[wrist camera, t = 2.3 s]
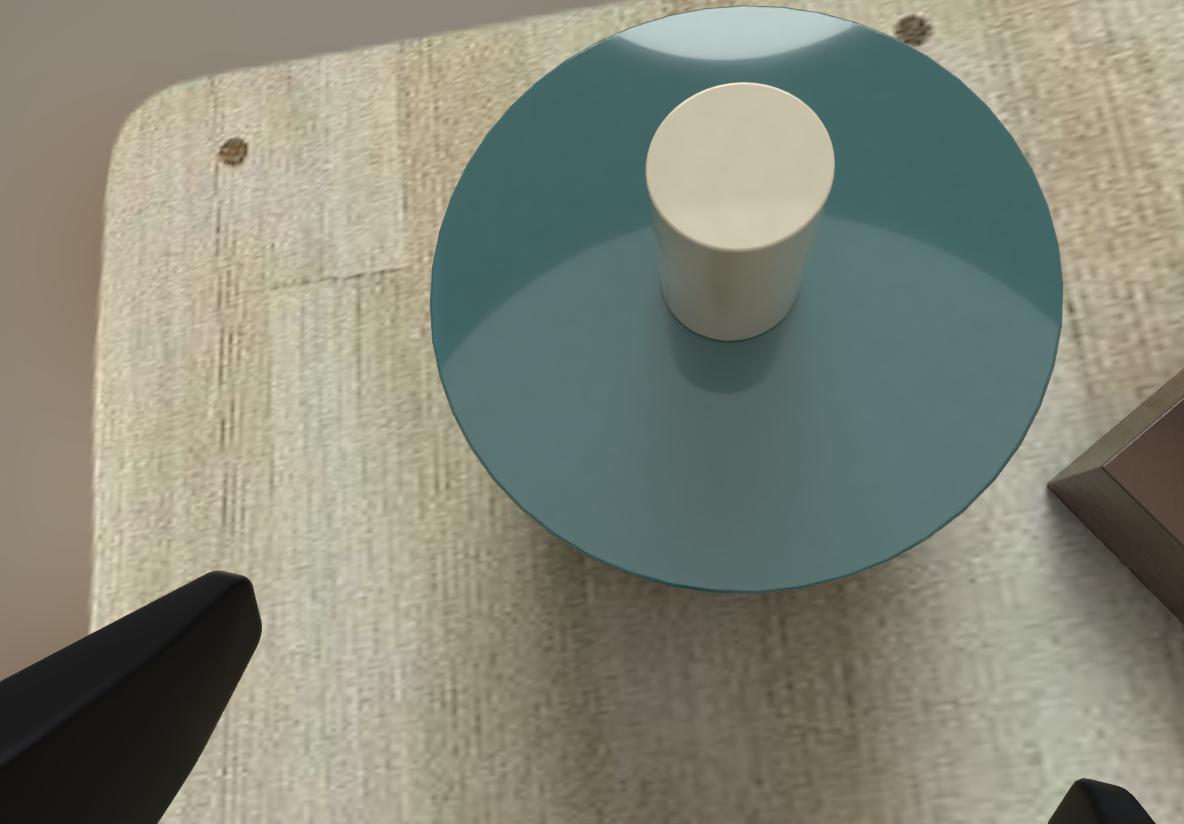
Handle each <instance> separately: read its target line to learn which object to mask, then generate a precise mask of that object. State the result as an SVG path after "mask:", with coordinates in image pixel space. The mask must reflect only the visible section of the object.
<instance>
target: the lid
mask: <svg viewBox="0 0 1184 824" xmlns="http://www.w3.org/2000/svg"><path fill="white" fill-rule="evenodd" d="M1062 306H1063V279H1062V270H1061V262H1060V253H1059V244H1058V241H1057V237H1056V233H1055V229H1054V226H1053V222H1052V218H1051V215H1050V211H1049V207H1048V204H1047V202H1046V200H1045V197H1044V195H1043V193H1042V190H1041V188H1040V186H1039V183H1038V181H1037V179H1036V176H1035V174H1034V172H1033V169H1032V168H1031V166H1030V165H1029V163H1028V161H1027V160H1026V158H1025V156H1024V155H1023V153H1022V151H1021V150H1020V148H1019V146H1018V145H1017V143H1016V142H1015V140H1014V138H1013V137H1012V135H1011V134H1010V133H1009V132H1008V130H1007V129H1006V128H1005V127H1004V125H1003V124H1002V123H1001V122H1000V120H999V119H998V118H997V117H996V116H995V114H994V113H993V112H992V111H991V109H990V108H989V107H988V106H987V105H986V104H985V103H984V102H983V101H982V100H981V99H980V98H979V97H978V96H977V95H976V94H975V93H974V92H972V91H971V90H970V89H969V88H968V87H967V86H966V85H965V84H964V83H963V82H962V81H961V80H960V79H959V78H957V77H956V76H954V75H953V74H952V73H950V72H949V71H948V70H946V69H945V68H943V67H942V66H941V65H939V64H938V63H936V62H935V61H934V60H932V59H931V58H930V57H928V56H927V55H925V54H923V53H921V52H919V51H918V50H916V49H914V48H912V47H910V46H908V45H907V44H905V43H903V42H901V41H899V40H897V39H896V38H894V37H892V36H889V35H887V34H884V33H882V32H879V31H877V30H874V29H872V28H869V27H867V26H864V25H862V24H859V23H856V22H853V21H849V20H845V19H842V18H838V17H834V16H830V15H827V14H823V13H819V12H812V11H806V10H799V9H792V8H786V7H769V6H732V7H719V8H706V9H701V10H695V11H690V12H685V13H679V14H674V15H669V16H666V17H662V18H659V19H656V20H653V21H649V22H646V23H643V24H640V25H636V26H633V27H631V28H628V29H626V30H624V31H621V32H619V33H617V34H615V35H612V36H610V37H608V38H605V39H603V40H601V41H598V42H597V43H595V44H593V45H592V46H590V47H588V48H586V49H585V50H583V51H581V52H579V53H578V54H576V55H574V56H572V57H571V58H569V59H567V60H566V61H564V62H563V63H562V64H560V65H559V66H558V67H556V68H555V69H553V70H552V71H551V72H549V73H548V74H547V75H545V76H544V77H543V78H541V79H540V80H539V81H537V82H536V83H535V84H534V85H533V86H532V87H531V88H530V89H529V90H528V91H526V92H525V93H524V94H523V95H522V96H521V97H520V98H519V99H518V100H517V101H516V102H515V103H514V104H513V105H512V106H510V108H509V109H508V110H507V111H506V112H505V114H504V115H503V116H502V117H501V118H500V119H499V121H498V122H497V123H496V124H495V125H494V127H493V128H492V129H491V130H490V131H489V133H488V134H487V135H486V136H485V138H484V140H483V141H482V143H481V144H480V146H479V147H478V149H477V150H476V152H475V153H474V155H473V156H472V158H471V159H470V161H469V163H468V164H467V166H466V168H465V170H464V172H463V174H462V176H461V178H460V180H459V182H458V184H457V186H456V188H455V190H454V192H453V194H452V196H451V199H450V202H449V205H448V208H447V211H446V214H445V217H444V220H443V223H442V225H441V228H440V231H439V236H438V241H437V246H436V251H435V256H434V261H433V266H432V277H431V292H430V316H431V331H432V343H433V348H434V352H435V357H436V362H437V367H438V372H439V377H440V380H441V383H442V385H443V388H444V391H445V394H446V397H447V400H448V402H449V405H450V408H451V411H452V414H453V415H454V417H455V419H456V421H457V423H458V425H459V427H460V429H461V431H462V433H463V435H464V437H465V439H466V441H467V443H468V444H469V446H470V448H471V450H472V451H473V452H474V454H475V455H476V457H477V458H478V459H479V461H480V462H481V464H482V465H483V467H484V468H485V469H486V471H487V472H488V474H489V475H490V476H491V478H492V479H493V480H494V482H495V483H496V484H497V485H498V486H499V487H500V488H501V489H502V490H503V491H504V492H505V493H506V494H507V495H508V497H509V498H510V499H511V500H512V501H513V502H514V503H515V504H516V505H517V506H518V507H519V508H520V509H521V510H522V511H523V512H524V513H526V514H527V515H528V516H529V517H531V518H532V519H533V520H534V521H535V522H537V523H538V524H539V525H540V526H542V527H543V528H544V529H545V530H547V531H548V532H549V533H550V534H551V535H553V536H554V537H556V538H558V539H559V540H561V541H563V542H564V543H566V544H568V545H569V546H571V547H572V548H574V549H576V550H577V551H579V552H581V553H582V554H584V555H585V556H587V557H589V558H591V559H594V560H596V561H598V562H600V563H603V564H605V565H607V566H609V567H612V568H614V569H616V570H618V571H621V572H623V573H625V574H628V575H631V576H634V577H638V578H641V579H645V580H648V581H651V582H655V583H658V584H662V585H665V586H669V587H673V588H680V589H687V590H693V591H700V592H706V593H713V594H765V593H774V592H783V591H792V590H800V589H806V588H810V587H814V586H818V585H822V584H826V583H830V582H834V581H838V580H842V579H846V578H849V577H851V576H854V575H856V574H859V573H861V572H864V571H866V570H869V569H871V568H874V567H876V566H879V565H881V564H884V563H886V562H889V561H891V560H893V559H894V558H896V557H898V556H900V555H901V554H903V553H905V552H907V551H908V550H910V549H912V548H914V547H915V546H917V545H919V544H921V543H922V542H924V541H926V540H928V539H929V538H931V537H932V536H933V535H935V534H936V533H937V532H938V531H940V530H941V529H942V528H944V527H945V526H946V525H948V524H949V523H950V522H951V521H953V520H954V519H955V518H957V517H958V516H959V515H960V514H962V513H963V512H964V511H965V510H966V509H967V508H968V507H969V506H970V505H971V504H972V503H973V502H974V501H975V500H976V499H977V498H978V497H979V496H980V495H981V494H982V493H983V492H984V491H985V490H986V489H987V488H988V487H989V486H990V485H991V484H992V483H993V482H994V481H995V479H996V478H997V477H998V475H999V474H1000V473H1001V471H1002V470H1003V468H1004V467H1005V466H1006V464H1007V463H1008V462H1009V460H1010V459H1011V457H1012V456H1013V455H1014V453H1015V452H1016V450H1017V449H1018V448H1019V446H1020V445H1021V443H1022V441H1023V439H1024V437H1025V436H1026V434H1027V432H1028V430H1029V428H1030V426H1031V424H1032V422H1033V420H1034V418H1035V416H1036V414H1037V413H1038V411H1039V409H1040V407H1041V404H1042V401H1043V398H1044V395H1045V392H1046V389H1047V387H1048V384H1049V381H1050V378H1051V375H1052V372H1053V369H1054V366H1055V360H1056V355H1057V350H1058V344H1059V339H1060V333H1061V328H1062Z"/></svg>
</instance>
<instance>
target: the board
mask: <svg viewBox="0 0 1184 824" xmlns="http://www.w3.org/2000/svg"><path fill="white" fill-rule="evenodd" d="M1047 486H1048V487H1049V488H1050V489H1051V490H1052V491H1053V492H1054V493H1055V494H1056V495H1057V496H1058V497H1059V498H1060V499H1061V500H1062V501H1063V502H1064V503H1065V504H1066V505H1067V506H1068V507H1069V508H1070V509H1071V510H1072V511H1073V512H1074V513H1075V514H1076V515H1077V516H1078V517H1079V518H1080V519H1081V520H1082V521H1083V522H1084V523H1085V524H1086V525H1087V526H1088V527H1089V528H1090V529H1091V530H1092V531H1093V532H1094V533H1095V534H1096V535H1097V536H1098V537H1099V538H1100V539H1101V540H1102V541H1103V542H1104V543H1105V544H1106V545H1107V546H1108V547H1109V548H1110V549H1111V550H1112V551H1113V552H1114V553H1115V554H1116V555H1117V556H1118V557H1119V558H1120V559H1121V560H1122V561H1123V562H1124V563H1125V564H1126V565H1127V566H1128V567H1129V568H1130V569H1131V570H1132V571H1133V572H1134V573H1135V574H1136V575H1137V576H1138V577H1139V578H1140V579H1141V580H1142V581H1143V582H1144V583H1145V584H1146V585H1147V586H1148V587H1149V588H1150V590H1151V591H1152V592H1153V593H1154V594H1155V595H1156V596H1157V597H1158V598H1159V599H1160V600H1161V601H1162V602H1163V603H1164V604H1165V605H1166V606H1167V607H1168V608H1169V609H1170V610H1171V611H1172V612H1173V613H1174V614H1175V615H1176V616H1177V617H1178V618H1179V619H1180V620H1181V621H1182V622H1183V623H1184V369H1183V370H1181V371H1180V372H1179V373H1178V374H1177V375H1176V376H1174V377H1173V378H1172V379H1171V380H1170V381H1168V382H1167V383H1166V384H1165V385H1164V386H1163V387H1161V388H1160V389H1159V390H1158V391H1157V392H1155V393H1154V394H1153V395H1152V396H1151V397H1149V398H1148V399H1147V400H1146V401H1145V402H1144V403H1142V404H1141V405H1140V406H1139V407H1138V408H1136V409H1135V410H1134V411H1133V412H1132V413H1131V414H1129V415H1128V416H1127V417H1126V418H1125V419H1123V420H1122V421H1121V422H1120V423H1119V424H1117V425H1116V426H1115V427H1114V428H1113V429H1112V430H1110V431H1109V432H1108V433H1107V434H1106V435H1104V436H1103V437H1102V438H1101V439H1100V440H1099V441H1097V442H1096V443H1095V444H1094V445H1093V446H1091V447H1090V448H1089V449H1088V450H1087V451H1086V452H1084V453H1083V454H1082V455H1081V456H1080V457H1078V458H1077V459H1076V460H1075V461H1074V462H1072V463H1071V464H1070V465H1069V466H1068V467H1067V468H1065V469H1064V470H1063V471H1062V472H1061V473H1059V474H1058V475H1057V476H1056V477H1055V478H1054V479H1052V480H1051V481H1050V482H1049V483H1048V484H1047Z"/></svg>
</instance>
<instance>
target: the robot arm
mask: <svg viewBox="0 0 1184 824" xmlns="http://www.w3.org/2000/svg"><path fill="white" fill-rule="evenodd" d="M261 632H262V622H261V618H260V614H259V610H258V605H257V601H256V597H255V593H254V589H253V585H252V583H251V581H250V580H249V579H248V578H247V577H245V576H242V575H238V574H234V573H229V572H225V571H213V572H209V573H207V574H205V575H203V576H201V577H199V578H197V579H195V580H193V581H192V582H190V583H188V584H186V585H184V586H182V587H180V588H178V589H176V590H174V591H172V592H170V593H169V594H167V595H165V596H163V597H161V598H159V599H157V600H155V601H153V602H151V603H149V604H148V605H146V606H144V607H142V608H140V609H138V610H136V611H134V612H132V613H130V614H128V615H126V616H125V617H123V618H121V619H119V620H117V621H115V622H113V623H111V624H109V625H107V626H105V627H103V628H102V629H100V630H98V631H96V632H94V633H92V634H90V635H88V636H86V637H84V638H82V639H81V640H79V641H77V642H75V643H73V644H71V645H69V646H67V647H65V648H63V649H61V650H60V651H58V652H56V653H54V654H52V655H50V656H48V657H46V658H44V659H43V660H40V661H38V662H36V663H35V664H33V665H31V666H29V667H27V668H25V669H23V670H21V671H19V672H17V673H15V674H14V675H12V676H10V677H8V678H6V679H4V680H2V681H1V682H0V824H158V822H159V821H160V819H161V818H162V816H163V814H164V813H165V811H166V810H167V808H168V807H169V805H170V804H171V802H172V801H173V799H174V797H175V796H176V794H177V793H178V791H179V790H180V788H181V787H182V785H183V784H184V782H185V780H186V779H187V777H188V775H189V774H190V772H191V771H192V769H193V767H194V766H195V764H196V762H197V761H198V759H199V757H200V755H201V753H202V752H203V750H204V748H205V746H206V744H207V742H208V740H209V739H210V737H211V735H212V733H213V731H214V729H215V727H216V725H217V723H218V721H219V719H220V717H221V715H222V713H223V711H224V710H225V708H226V706H227V704H228V702H229V700H230V698H231V696H232V694H233V692H234V690H235V688H236V686H237V684H238V682H239V681H240V679H241V677H242V675H243V673H244V671H245V669H246V667H247V665H248V663H249V661H250V659H251V657H252V655H253V654H254V652H255V650H256V648H257V645H258V643H259V640H260V637H261ZM1048 824H1156V823H1155V822H1154V821H1153V820H1152V818H1151V817H1150V816H1149V815H1148V813H1147V812H1146V811H1145V810H1144V808H1143V807H1142V806H1141V805H1140V803H1139V802H1138V801H1137V800H1136V798H1135V797H1134V796H1133V795H1132V794H1131V793H1129V792H1128V791H1127V790H1125V789H1124V788H1122V787H1119V786H1116V785H1112V784H1108V783H1104V782H1099V781H1095V780H1091V779H1086V778H1082V779H1079V780H1077V781H1075V782H1074V784H1073V785H1072V786H1071V788H1070V789H1069V791H1068V792H1067V794H1066V795H1065V797H1064V798H1063V800H1062V801H1061V803H1060V805H1059V806H1058V808H1057V809H1056V811H1055V812H1054V814H1053V815H1052V817H1051V818H1050V820H1049V822H1048Z"/></svg>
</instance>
